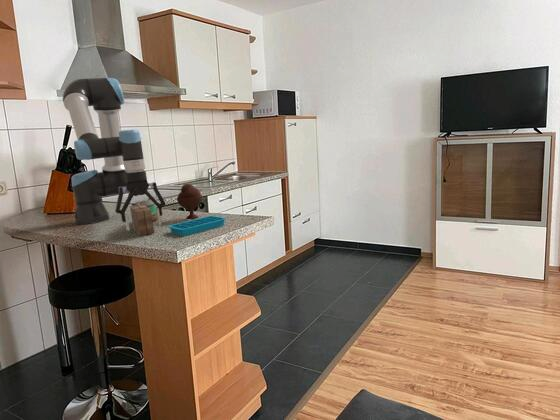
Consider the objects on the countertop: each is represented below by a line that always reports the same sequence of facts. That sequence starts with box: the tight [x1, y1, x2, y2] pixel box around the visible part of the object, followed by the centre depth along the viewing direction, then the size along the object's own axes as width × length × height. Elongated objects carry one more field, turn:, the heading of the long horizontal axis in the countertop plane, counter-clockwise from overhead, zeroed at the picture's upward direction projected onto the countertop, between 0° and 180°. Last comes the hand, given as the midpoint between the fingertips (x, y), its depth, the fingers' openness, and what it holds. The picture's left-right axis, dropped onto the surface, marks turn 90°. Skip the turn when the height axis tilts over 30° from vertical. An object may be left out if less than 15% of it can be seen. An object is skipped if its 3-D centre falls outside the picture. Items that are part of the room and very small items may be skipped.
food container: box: [134, 196, 158, 223], centre depth 185 cm, size 12×6×10 cm, turn 168°
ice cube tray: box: [167, 215, 227, 237], centre depth 163 cm, size 12×20×3 cm, turn 133°
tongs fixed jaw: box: [129, 202, 148, 237], centre depth 168 cm, size 21×4×10 cm, turn 27°
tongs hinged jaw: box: [137, 204, 155, 235], centre depth 168 cm, size 17×2×9 cm, turn 27°
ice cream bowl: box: [176, 183, 203, 220], centre depth 184 cm, size 11×11×15 cm
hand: (144, 227), depth 165 cm, fingers open, 11 cm apart
